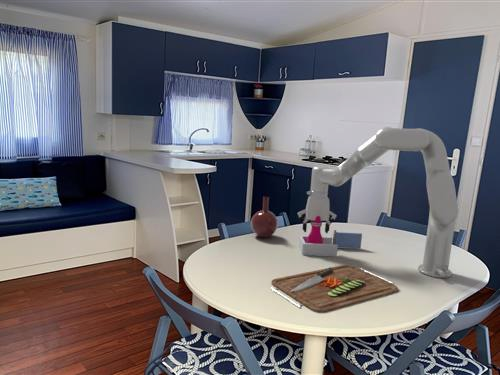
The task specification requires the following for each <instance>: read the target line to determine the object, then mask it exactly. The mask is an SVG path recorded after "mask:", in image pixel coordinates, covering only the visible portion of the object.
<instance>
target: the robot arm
mask: <svg viewBox="0 0 500 375" xmlns="http://www.w3.org/2000/svg"><path fill="white" fill-rule="evenodd" d="M388 151H403V152H421V154H422V157H423V162H424V166H425V173H426V174H425V175H426V183H425V185H426V192H427V198H428V204H429V214H428V215H429V216H428V223H427V224H428V225H427V231H426V236H425V237H426V238H425V246H424V253H423V260H422V264H419V265H418V267H417V270H418V271H419V272H420V273H422V274H424V275H426V276H429V277H433V278H441V279H447V278H451V277H452V275H453V273H452V271H451V269H449V265H450V260H451V259H450V258H451V252H452V247H453V238H454V234H455V233H454V232H455V223H456V220H457V219H458V217H459V207H458V199H457V195H456V194H457V192H456V187H455V181H454V178H453V176H452V174H451V171H450V170H451V169H450V164H449V159H448V154H447V149H446V146H445V144H444V142H443V140H442V139H441V138H440V137H439V136H438V135H437V134H435V133H434V132H432V131H430V130H428V129H424V128H420V127H419V128H399V127H398V128H397V127H388V126H387V127H382V128H381V129H379V130H378V131H377V132H376V133H375V134H374V135H372V136H371V137H370V138H369V139H367V140H366V141H365V142H364V143H362V144H361V145H360V146H359V147H358V148H356V150H354V152H353V153H352V155H350V156H349V157H348V158H347V159H346V160H344V161H343V162H341V164H339V165H338V166H337V167H335V168H329V167H328V166H321V165H320V166H319V165H317V166H313V167H312V170H311V180H310V181H311V182H310V190H309V191H306V195H309V196H308V198H307V200H306V201H307V202H306V206H305V209H303V210H300V211H298V212H297V216H298V218H299V220H300V221H301V222H302V230H303V232H304V233H307V226H308V224H307V222H308V221H312V220H314V221H315V218H316V216H320V217H321V220H320V221H322V222H325V224H324V226H325V227H324V233H326V234H328V233H329V231H330V226H331V224H332V223H333V222H334V221H335V219H336V218H337V214H335V213H334V212H333V211H330V198H329V197H328V194H329V192H328V191H329V186H333V187H340V186H342V185H343V184H345V183H346V182H347V181H349V180H351V179H352V178H353V177H354V176H355V175H357V174H358V173H359V172H361V171H362V170H363V169H365V168H367V167H369V166H370V165H371V164H373V163H374V162H375V161H377V160H378V159H379V158H380V157H382V156H383V155H384V154H386V153H387V152H388ZM304 214H305V216H304V218H303V217H302V216H303V215H304ZM330 216H331V218H330Z"/></svg>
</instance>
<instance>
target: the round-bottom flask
mask: <svg viewBox="0 0 500 375" xmlns="http://www.w3.org/2000/svg"><path fill="white" fill-rule="evenodd" d="M262 198H263V199H262V210H259V211H257V212H256V213H255V214H254V215H253V216H252V218H251V220H250V228H251V229H252V231H253V233H254V234H255V235H256V236H257V237H260V238H269V237H271V236H273V235H274V234H275V233H276V231H277V230H278V224H279V222H278V218H277V216H276V215H275V214H274V213H273V212H272V211H270V210H269V199H270V197H269V196H265V195H264V196H262Z"/></svg>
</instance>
